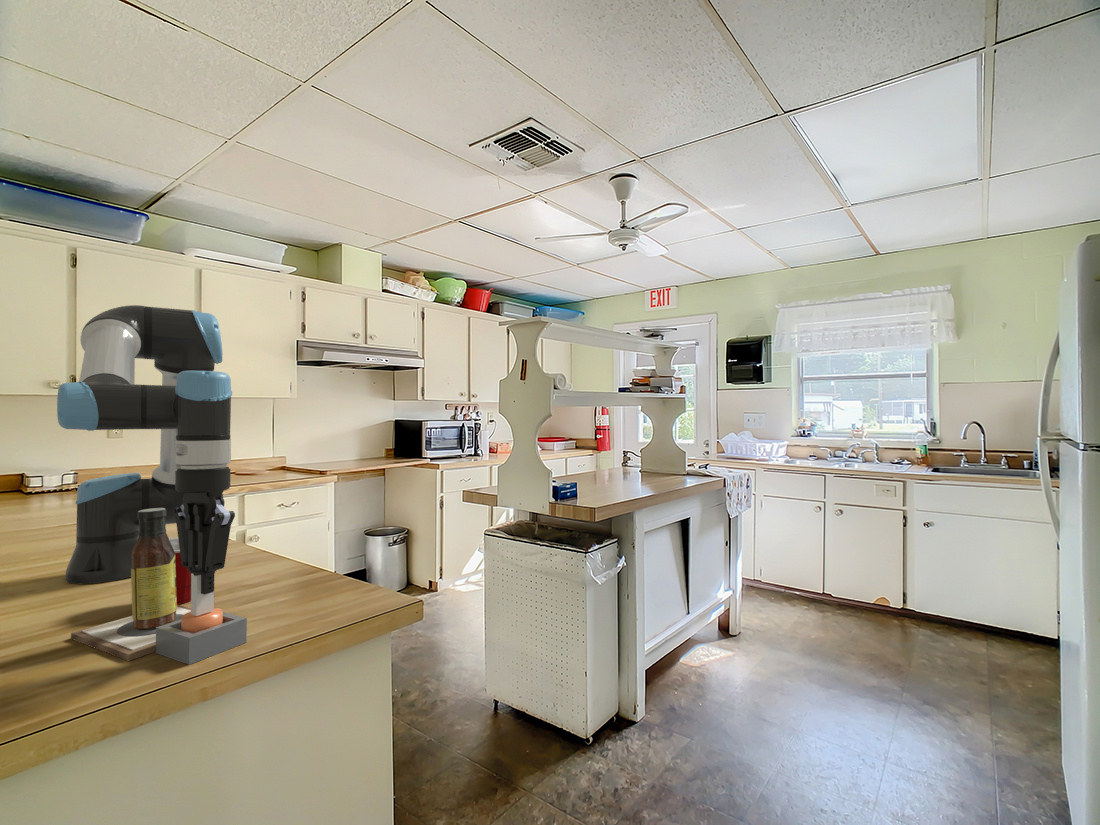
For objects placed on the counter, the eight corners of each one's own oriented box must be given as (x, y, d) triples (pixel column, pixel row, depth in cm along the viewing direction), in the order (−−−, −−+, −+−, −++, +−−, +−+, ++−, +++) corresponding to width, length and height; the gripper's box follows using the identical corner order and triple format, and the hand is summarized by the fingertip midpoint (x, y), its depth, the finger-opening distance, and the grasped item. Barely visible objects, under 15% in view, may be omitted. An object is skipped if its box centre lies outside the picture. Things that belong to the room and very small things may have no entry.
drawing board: (70, 638, 90) (70, 631, 90) (173, 608, 104) (173, 602, 104) (128, 661, 82) (128, 652, 82) (231, 625, 96) (231, 617, 96)
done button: (173, 638, 86) (173, 616, 86) (209, 626, 91) (209, 605, 91) (194, 645, 83) (194, 622, 83) (230, 632, 88) (230, 611, 88)
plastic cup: (177, 612, 102) (177, 549, 103) (130, 608, 105) (131, 546, 105) (222, 594, 113) (223, 537, 113) (179, 590, 115) (179, 534, 115)
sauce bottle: (185, 619, 95) (185, 507, 95) (148, 633, 89) (148, 513, 89) (159, 615, 97) (159, 505, 97) (121, 628, 91) (122, 511, 91)
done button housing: (155, 652, 85) (155, 627, 85) (213, 632, 93) (213, 609, 93) (189, 664, 81) (189, 638, 81) (246, 642, 89) (246, 618, 89)
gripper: (155, 466, 87) (154, 613, 86) (203, 470, 81) (202, 627, 81) (203, 463, 93) (202, 599, 93) (251, 466, 88) (250, 611, 87)
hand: (202, 612), depth 87 cm, fingers closed
